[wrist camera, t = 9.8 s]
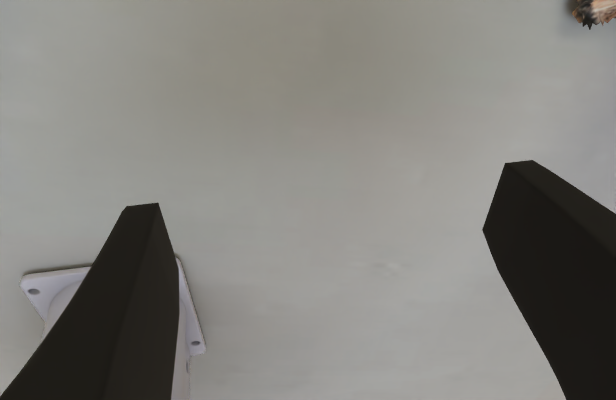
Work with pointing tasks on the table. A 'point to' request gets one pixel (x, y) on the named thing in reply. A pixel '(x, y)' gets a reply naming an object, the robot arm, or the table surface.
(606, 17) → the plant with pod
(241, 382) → the table surface
